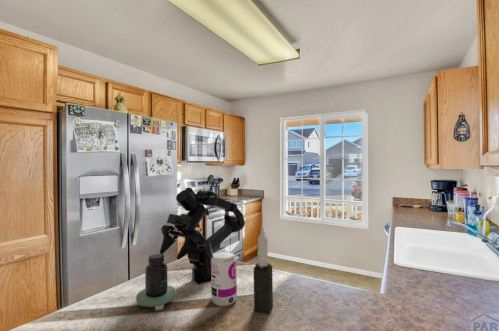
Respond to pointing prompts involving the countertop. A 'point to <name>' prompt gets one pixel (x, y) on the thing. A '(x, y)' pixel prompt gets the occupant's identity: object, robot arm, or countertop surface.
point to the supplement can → (223, 278)
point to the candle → (263, 278)
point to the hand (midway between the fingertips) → (168, 256)
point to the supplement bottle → (156, 276)
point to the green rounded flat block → (155, 299)
